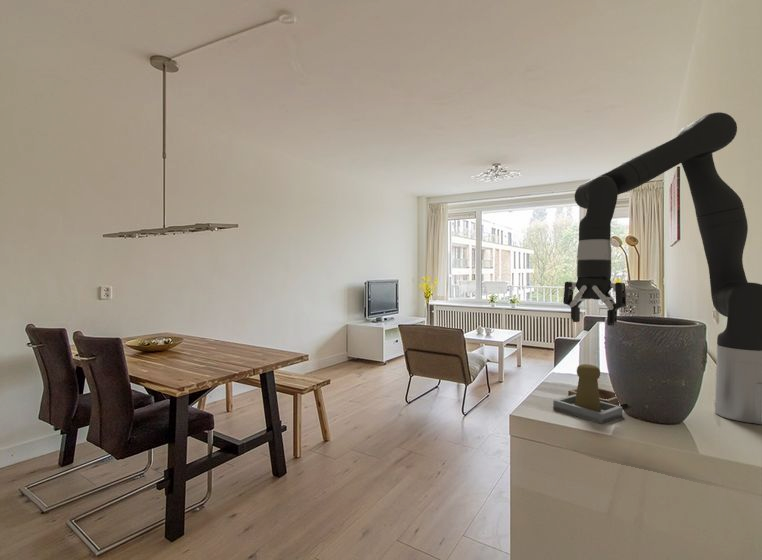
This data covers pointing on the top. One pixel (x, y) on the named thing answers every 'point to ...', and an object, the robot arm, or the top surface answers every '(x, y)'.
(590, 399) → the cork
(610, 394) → the socket block
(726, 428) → the top surface
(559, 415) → the top surface
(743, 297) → the robot arm
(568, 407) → the tray
